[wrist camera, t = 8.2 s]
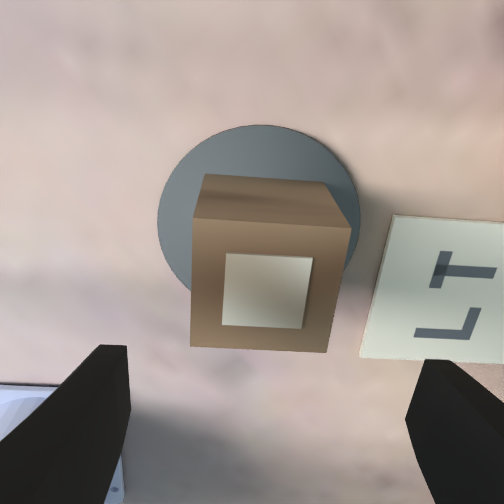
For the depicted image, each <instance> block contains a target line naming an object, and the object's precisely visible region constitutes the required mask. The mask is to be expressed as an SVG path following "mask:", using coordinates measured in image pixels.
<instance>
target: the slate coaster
mask: <svg viewBox="0 0 504 504" xmlns="http://www.w3.org/2000/svg"><path fill="white" fill-rule="evenodd" d="M205 174H219V175H233V176H247V177H261V178H275V179H289V180H303V181H316V182H324V184H325V186H326V187H327V189H328V191H329V192H330V194H331V195H332V197H333V199H334V200H335V202H336V204H337V205H338V207H339V209H340V210H341V212H342V213H343V215H344V217H345V218H346V220H347V222H348V223H349V225H350V227H351V228H352V229H351V234H350V239H349V244H348V249H347V254H346V259H345V264H344V269H345V267H346V266H347V264H348V262H349V261H350V259H351V257H352V254H353V252H354V250H355V247H356V243H357V240H358V236H359V229H360V208H359V202H358V197H357V194H356V191H355V188H354V185H353V183H352V181H351V179H350V177H349V175H348V174H347V172H346V170H345V169H344V167H343V166H342V165H341V163H340V162H339V161H338V160H337V159H336V158H335V157H334V155H333V154H332V153H331V152H330V151H328V150H327V149H326V148H325V147H324V146H322V145H321V144H320V143H318V142H317V141H315V140H313V139H312V138H310V137H308V136H306V135H304V134H302V133H300V132H297V131H294V130H291V129H287V128H284V127H278V126H272V125H249V126H241V127H237V128H233V129H229V130H226V131H223V132H221V133H218V134H216V135H214V136H212V137H210V138H208V139H206V140H205V141H203V142H201V143H200V144H199V145H197V146H196V147H195V148H193V149H192V150H191V151H190V152H189V153H188V154H187V155H186V156H185V157H184V158H183V159H182V160H181V161H180V162H179V164H178V165H177V166H176V168H175V169H174V171H173V172H172V174H171V176H170V177H169V179H168V181H167V183H166V185H165V187H164V190H163V193H162V196H161V199H160V203H159V208H158V219H157V227H158V237H159V241H160V245H161V249H162V251H163V254H164V256H165V259H166V261H167V263H168V264H169V266H170V268H171V270H172V271H173V272H174V274H175V275H176V277H177V278H178V279H179V280H180V281H181V282H182V283H183V284H184V285H185V286H186V287H187V288H188V289H189V290H190V291H191V274H192V223H193V215H194V211H195V207H196V204H197V200H198V196H199V193H200V189H201V186H202V182H203V178H204V175H205ZM344 269H343V270H344Z"/></svg>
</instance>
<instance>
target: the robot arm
mask: <svg viewBox="0 0 504 504" xmlns="http://www.w3.org/2000/svg"><path fill="white" fill-rule="evenodd" d="M130 412H131V402H130V387H129V373H128V358H127V346H124V345H101V344H100V345H99V346H98V347H97V348H95V350H94V351H93V352H92V353H91V354H90V355H89V356H88V357H87V358H86V359H85V360H84V361H83V362H82V363H81V364H80V365H79V366H78V367H77V368H76V369H75V370H74V371H73V372H72V374H71V375H70V376H69V377H68V378H67V379H66V380H65V381H64V382H63V383H62V384H61V385H60V386H59V387H36V386H10V385H0V504H120V503H122V502H123V500H124V496H125V492H124V481H123V469H122V458H121V452H122V448H123V443H124V439H125V435H126V430H127V426H128V421H129V416H130ZM405 421H406V425H407V428H408V432H409V435H410V439H411V443H412V446H413V449H414V452H415V455H416V459H417V462H418V464H419V466H420V469H421V471H422V474H423V476H424V478H425V481H426V483H427V485H428V488H429V490H430V492H431V495H432V497H433V499H434V501H435V504H504V403H503V402H502V401H501V400H500V399H498V398H497V397H496V396H495V395H493V394H492V393H491V392H490V391H488V390H487V389H486V388H485V387H484V386H482V385H481V384H480V383H479V382H477V381H476V380H475V379H474V378H472V377H471V376H470V375H469V374H467V373H466V372H465V371H464V370H462V369H461V368H460V367H458V366H457V365H456V364H454V363H453V362H452V361H450V360H442V359H425V361H424V364H423V367H422V370H421V373H420V376H419V379H418V382H417V385H416V388H415V391H414V394H413V397H412V400H411V403H410V405H409V408H408V411H407V414H406V417H405Z"/></svg>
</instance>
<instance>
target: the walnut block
mask: <svg viewBox="0 0 504 504" xmlns="http://www.w3.org/2000/svg"><path fill="white" fill-rule="evenodd" d="M351 229H352V228H351V227H350V225H349V223H348V222H347V220H346V218H345V217H344V215H343V213H342V212H341V210H340V209H339V207H338V205H337V204H336V202H335V200H334V199H333V197H332V195H331V194H330V192H329V191H328V189H327V187H326V186H325V184H324V182H316V181H303V180H289V179H275V178H261V177H247V176H233V175H219V174H205V175H204V178H203V182H202V186H201V189H200V193H199V196H198V200H197V204H196V207H195V211H194V215H193V223H192V274H191V326H190V346H191V347H212V348H233V349H254V350H275V351H296V352H317V353H326V352H327V347H328V342H329V337H330V332H331V327H332V323H333V318H334V313H335V308H336V303H337V298H338V293H339V288H340V283H341V278H342V274H343V269H344V264H345V259H346V254H347V249H348V244H349V239H350V234H351Z"/></svg>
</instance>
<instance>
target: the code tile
mask: <svg viewBox="0 0 504 504" xmlns="http://www.w3.org/2000/svg"><path fill="white" fill-rule="evenodd" d="M359 356H360V358H379V359H401V360H424V361H425V359H442V360H450V361H452V362H468V363H491V364H504V222H493V221H478V220H463V219H448V218H432V217H417V216H402V215H393V217H392V221H391V225H390V229H389V233H388V237H387V241H386V245H385V249H384V253H383V257H382V262H381V266H380V270H379V274H378V278H377V282H376V286H375V290H374V294H373V298H372V302H371V306H370V311H369V315H368V319H367V323H366V327H365V331H364V335H363V339H362V343H361V347H360V351H359Z"/></svg>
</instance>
